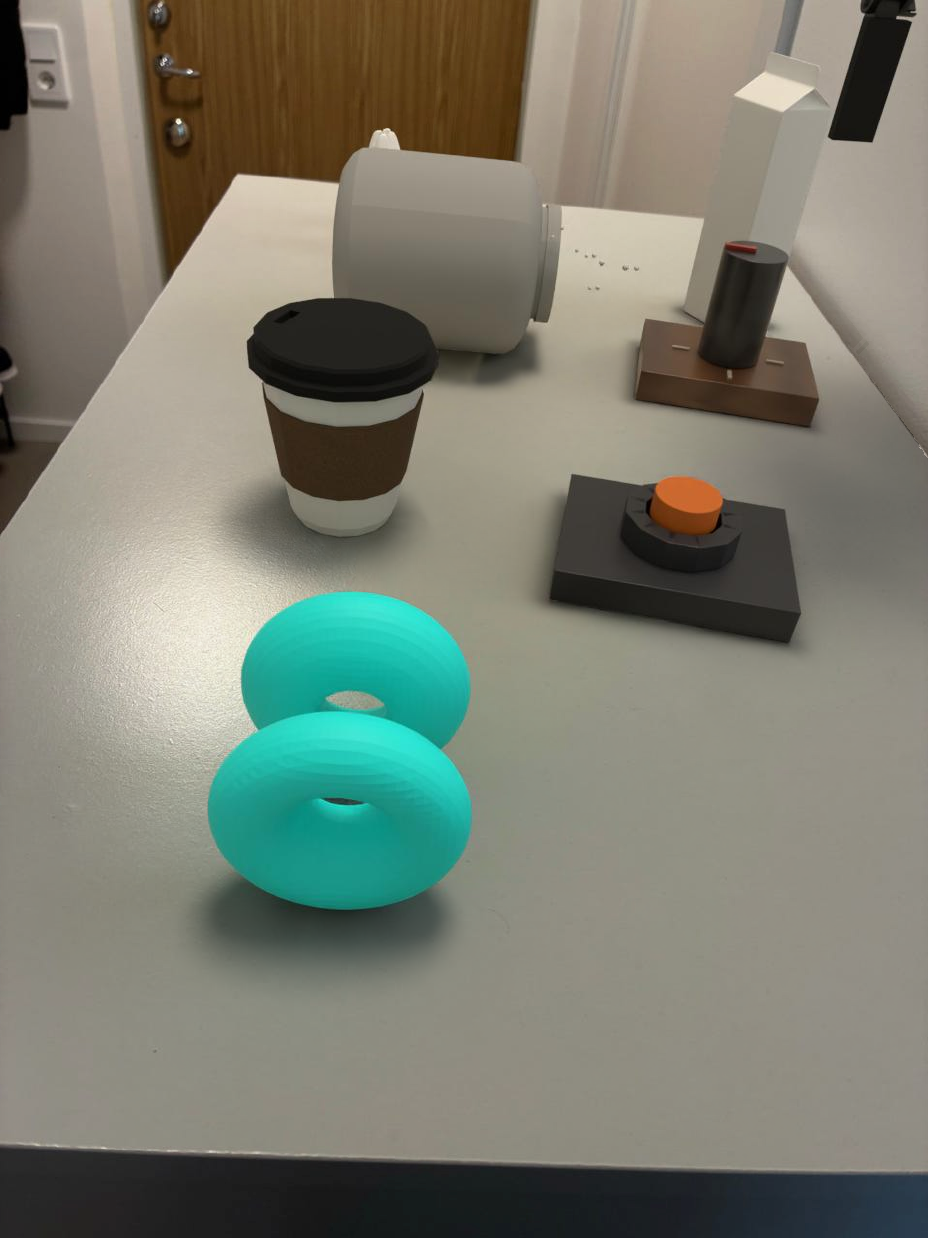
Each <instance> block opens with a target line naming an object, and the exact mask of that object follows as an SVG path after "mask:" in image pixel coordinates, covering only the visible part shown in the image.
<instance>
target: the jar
mask: <svg viewBox="0 0 928 1238" xmlns="http://www.w3.org/2000/svg"><path fill="white" fill-rule="evenodd" d="M562 223H563V211H562V205H559V204H548V203H547V204H546V206H543V199H542V193H541V185H540V183H539V181H538V179H537V176H536V175H535V173H534V171H533V170H532V169H531V168H530V167H529V166H528V165H527V164H525V163H522V162H518V161H514V160H505V159H494V158H485V157H474V156H465V155H454V154H446V153H445V154H444V153H435V152H425V151H424V152H423V151H417V150H416V151H415V150H406V149H405V150H404V149H400V150H396V149H386V148H375V147H373V148H369V147H361V148H360V149H358V150H357V151H355V152H353V153H352V155H350V157H349V159H348V161H347V162H346V163H345V164H344V166H343V168H342V170H341V174H340V177H339V184H338V189H337V194H336V201H335V208H334V218H333V227H332V247H331V248H332V249H331V252H332V253H331V270H332V271H331V272H332V273H331V274H332V275H331V276H332V277H331V278H332V290H333V298H353V299H359V300H366V301H372V302H379V303H383V304H386V305H389V306H392V307H394V308H397V309H400V310H403V311H406V312H408V313H409V314H411V315H412V316H413V317H415V318H416V319H418V320H419V321H421V322H422V323H423V324H425V325H426V326H427V328H428V331H429V333H430V335H431V338H432V340H433V342H434V344H435V347H436V349H441V350H451V351H453V350H454V351H463V352H474V353H484V354H492V355H493V354H495V355H496V354H506V353H508V352H511V351H512V350H514V349H515V348H516V347H517V346H518V345H519V343H520V342H521V341H522V339H524V336H525V334H526V331H527V329H528V327H529V323H530V320H533V322H534V323H545V324H547V323H548V322H549V320H550V317H551V313H552V308H553V303H554V297H555V292H556V291H555V290H556V285H557V277H558V269H559V261H560V251H561V242H562V241H561V240H562V231H563V230H564V229H565V227H564V226H563V225H562ZM574 252H575V253H579V248H575V249H574ZM588 257H589V254H588V253H586V254H585V255H584V258H586V259H588ZM591 258H593V259H596V258H597V254H596V253H595V252H593V253H592V254H591ZM605 263H606V262H605V260H604V259H600V260H599V263H598V264H599V266H600V267H603V266H604V265H605ZM621 269H622V270H623V271H628V270H629V269H630V265H629V264H627V263H624V264H623V265H622V267H621ZM633 270H634V271H636V272H637V271H639V270H640V266H639V265H637V264H636V265H635V266H634V267H633ZM600 289H601V286H600V285H596V286H595V290H596V291H599V290H600ZM587 290H588V291H592V286H588V287H587Z"/></svg>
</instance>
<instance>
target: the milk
mask: <svg viewBox="0 0 928 1238" xmlns="http://www.w3.org/2000/svg"><path fill="white" fill-rule="evenodd" d="M821 69H822V68H821V66H820V65H818V64H815V63H812V62H808V61H805V60H801V59H798V58H795V57H791V56H788V55H784V54H781V53H777V52H773V51H771V52H770V53H769V54H768V55H767V59H766V64H765V67H764V71H763V72H762V73H760V74H759V75H758V76H756V77H754V79H753V80H751V81H750V82H748V83H747V84H746V85H745V86H743V87H742V88H741V89H738V90H737V92H735V93H734V94H733V96H732V101H731V105H730V108H729V113H728V117H727V122H726V126H725V131H724V134H723V139H722V143H721V147H720V151H719V155H718V159H717V164H716V169H715V172H714V175H713V176H714V177H713V179H712V184H711V190H710V193H709V197H708V202H707V205H706V211H705V213H704V214H705V215H704V219H703V223H702V227H701V231H700V236H699V240H698V243H697V249H696V252H695V256H694V261H693V265H692V269H691V274H690V277H689V281H688V286H687V289H686V290H687V291H686V294H685V299H684V303H683V307H682V311H683V312H685V313H687V314H688V315H690V316H691V317H693V318H695V319H697V320H698V321H700V322H702V323H704V322H705V318H706V314H707V311H708V307H709V303H710V299H711V295H712V291H713V287H714V283H715V279H716V275H717V271H718V268H719V264H720V260H721V256H722V252H723V248H724V245H725V242H728V243H729V242H732V241H753V242H759V243H764V244H768V245H771V246H774V247H776V248H779V249H781V250H783V251H784V252H786V253H787V254H788V256H789V258H790V257H791V253H792V250H793V247H794V243H795V240H796V237H797V233H798V230H799V227H800V224H801V220H802V218H803V217H802V216H803V214H804V210H805V208H806V207H805V206H806V203H807V200H808V197H809V193H810V191H811V187H812V183H813V180H814V176H815V173H816V169H817V167H818V163H819V160H820V156H821V154H822V150H823V146H824V144H825V140H826V138H827V135H828V134H827V133H828V131H829V130H828V129H829V128H830V125H831V124H830V123H831V120H832V118H833V115H834V108H833V107H832V105H831V104H830V103H829V102H828V100H827V99H826V98H825V97H824V96H823V94H822V93H821V91H819V89H818V88H817V86H818V83H819V78H820V74H821V71H822V70H821ZM788 263H789V262H788ZM788 263H787V266H786V268H787V267H788ZM785 274H786V272H785V273H784V276H783V278H784V277H785ZM782 283H783V282H782ZM782 283H781V286H780V288H781V287H782ZM779 294H780V292H779V293H778V296H777V298H778V297H779ZM776 303H777V302H776ZM776 303H775V306H776ZM775 306H774V308H776V307H775ZM773 313H774V312H773ZM773 313H772V316H771V319H770V321H771V320H772V317H773ZM770 323H771V322H770ZM770 323H769V325H770Z"/></svg>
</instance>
